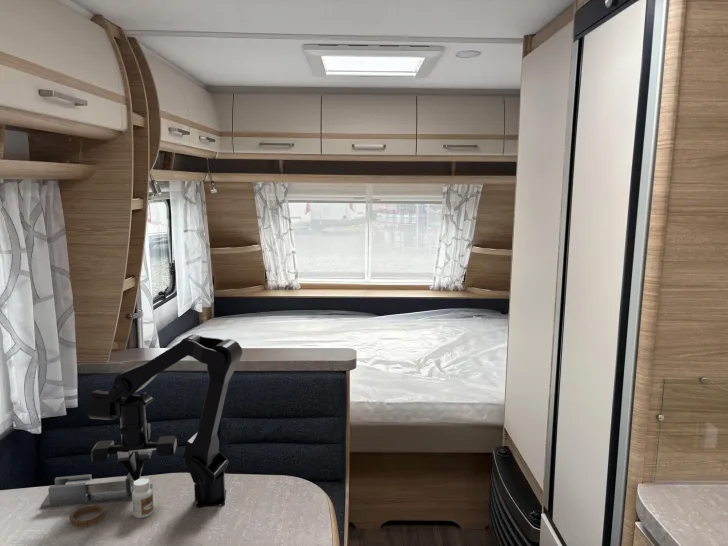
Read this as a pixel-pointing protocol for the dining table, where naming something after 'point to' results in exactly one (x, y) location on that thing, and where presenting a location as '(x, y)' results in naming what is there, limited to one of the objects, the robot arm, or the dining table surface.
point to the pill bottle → (142, 498)
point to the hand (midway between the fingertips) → (137, 481)
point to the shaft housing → (79, 493)
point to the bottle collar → (87, 522)
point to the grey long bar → (107, 484)
